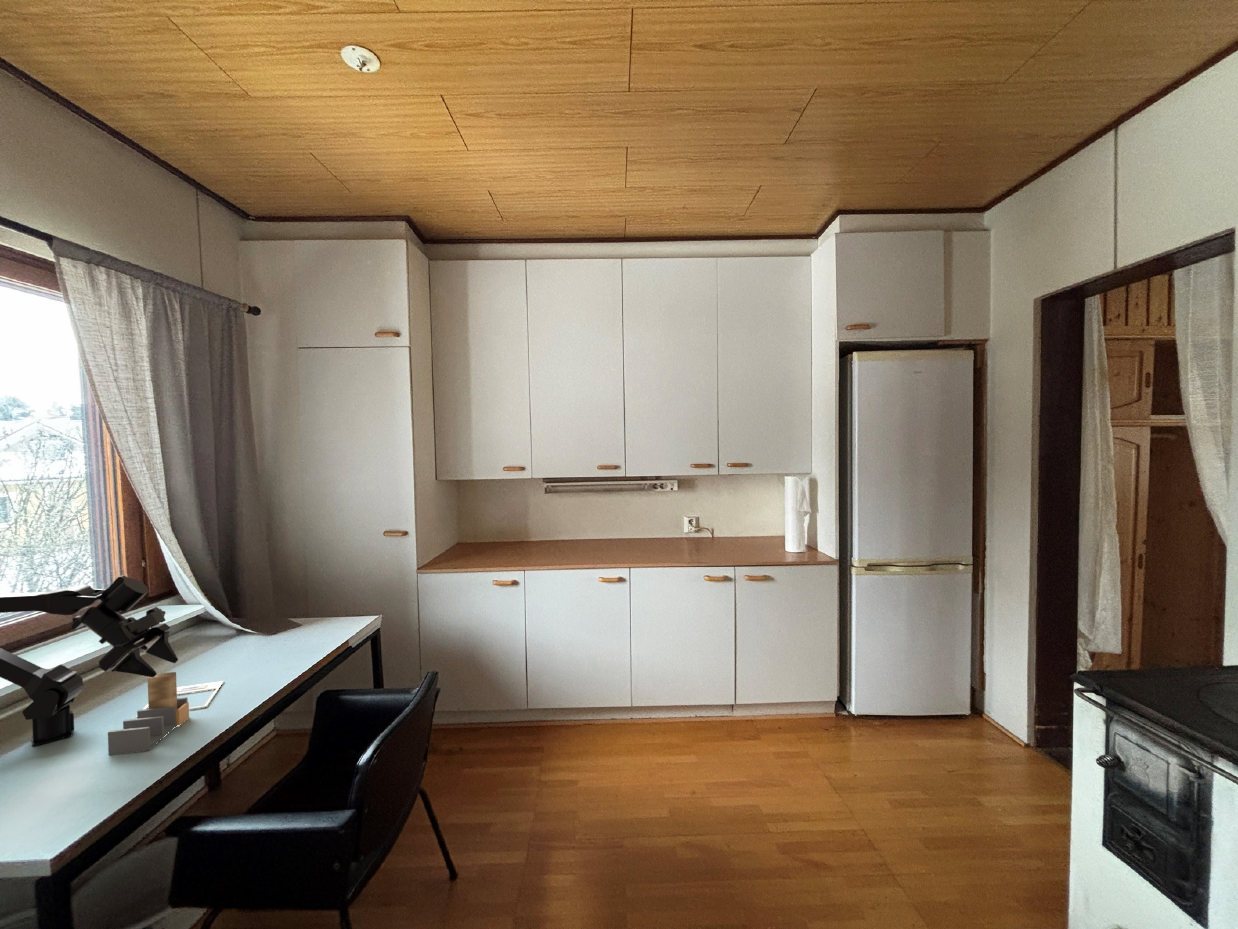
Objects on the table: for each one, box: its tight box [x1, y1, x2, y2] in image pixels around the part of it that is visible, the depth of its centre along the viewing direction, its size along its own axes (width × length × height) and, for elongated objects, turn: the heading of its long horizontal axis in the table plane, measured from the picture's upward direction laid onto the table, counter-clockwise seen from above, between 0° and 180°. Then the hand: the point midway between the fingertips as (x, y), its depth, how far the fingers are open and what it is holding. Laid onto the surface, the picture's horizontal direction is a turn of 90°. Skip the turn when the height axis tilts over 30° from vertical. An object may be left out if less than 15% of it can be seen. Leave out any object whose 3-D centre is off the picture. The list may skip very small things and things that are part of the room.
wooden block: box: [147, 671, 178, 710], centre depth 139 cm, size 4×3×11 cm, turn 102°
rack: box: [107, 697, 190, 756], centre depth 134 cm, size 8×16×5 cm, turn 12°
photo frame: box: [134, 680, 225, 719], centre depth 154 cm, size 15×1×18 cm
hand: (166, 668), depth 139 cm, fingers open, 9 cm apart
